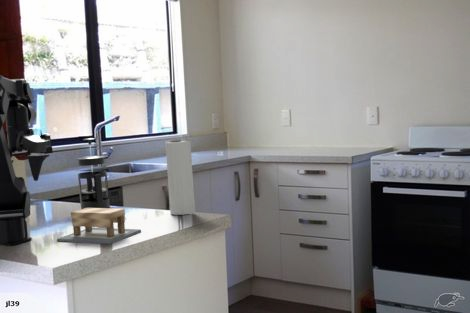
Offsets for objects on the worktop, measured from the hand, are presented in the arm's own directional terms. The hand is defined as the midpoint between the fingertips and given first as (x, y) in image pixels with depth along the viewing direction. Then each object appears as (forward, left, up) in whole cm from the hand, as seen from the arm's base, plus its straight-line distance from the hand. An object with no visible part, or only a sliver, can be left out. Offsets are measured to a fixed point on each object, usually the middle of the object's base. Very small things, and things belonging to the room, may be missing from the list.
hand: (23, 183), depth 160 cm
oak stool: (-2, -26, -13) cm, 29 cm away
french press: (+30, +1, -13) cm, 33 cm away
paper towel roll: (+28, -32, -13) cm, 45 cm away
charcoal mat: (-2, -26, -13) cm, 30 cm away
